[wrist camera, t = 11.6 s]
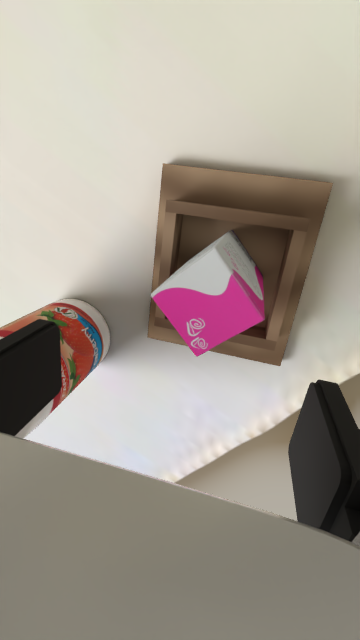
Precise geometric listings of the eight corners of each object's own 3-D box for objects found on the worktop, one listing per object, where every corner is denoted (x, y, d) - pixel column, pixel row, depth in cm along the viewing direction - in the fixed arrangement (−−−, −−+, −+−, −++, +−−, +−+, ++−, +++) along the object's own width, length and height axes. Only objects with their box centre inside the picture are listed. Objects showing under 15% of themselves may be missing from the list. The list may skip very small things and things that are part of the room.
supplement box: (183, 263, 31) (146, 293, 20) (232, 228, 28) (219, 240, 18) (215, 309, 32) (195, 360, 21) (265, 278, 29) (271, 318, 19)
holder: (166, 165, 29) (152, 158, 25) (329, 183, 26) (342, 180, 23) (150, 333, 36) (138, 348, 32) (279, 360, 33) (282, 381, 29)
